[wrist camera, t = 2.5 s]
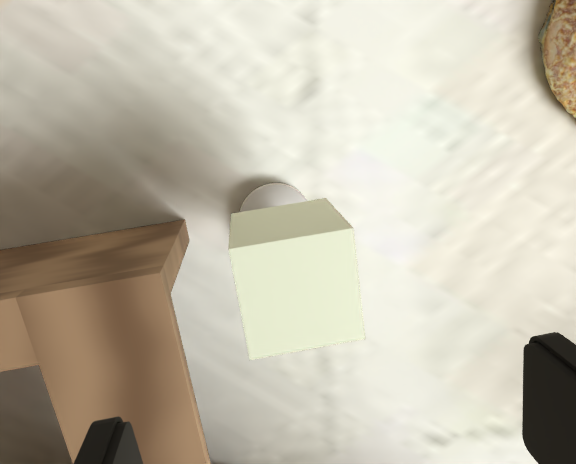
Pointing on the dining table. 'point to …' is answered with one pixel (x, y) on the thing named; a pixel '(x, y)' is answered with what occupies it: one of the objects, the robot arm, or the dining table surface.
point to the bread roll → (561, 52)
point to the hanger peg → (294, 272)
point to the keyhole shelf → (105, 335)
